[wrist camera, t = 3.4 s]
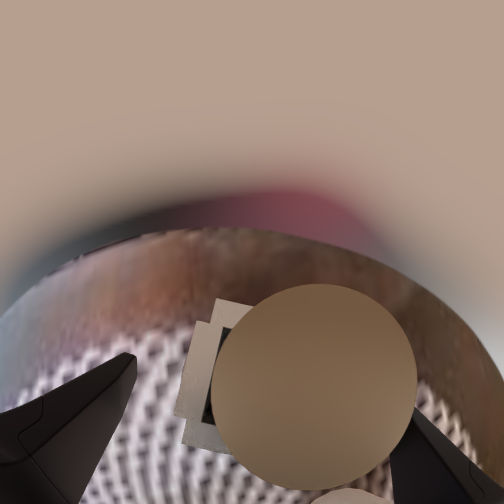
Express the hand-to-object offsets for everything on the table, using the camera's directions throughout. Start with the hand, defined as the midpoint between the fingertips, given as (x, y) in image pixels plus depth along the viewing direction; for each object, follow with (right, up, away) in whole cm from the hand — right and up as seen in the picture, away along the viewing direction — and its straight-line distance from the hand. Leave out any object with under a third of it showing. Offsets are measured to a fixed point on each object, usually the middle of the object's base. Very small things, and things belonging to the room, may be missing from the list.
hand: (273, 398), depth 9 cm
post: (-1, -3, +7) cm, 7 cm away
